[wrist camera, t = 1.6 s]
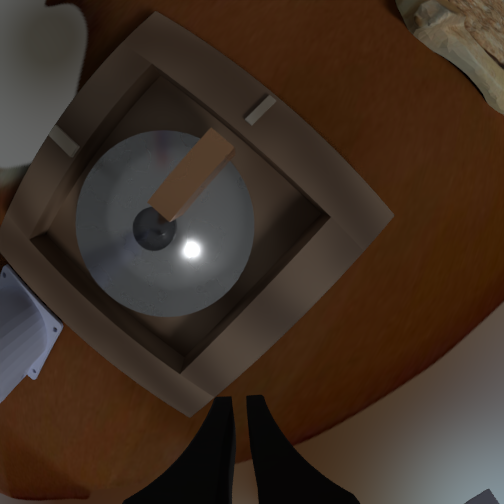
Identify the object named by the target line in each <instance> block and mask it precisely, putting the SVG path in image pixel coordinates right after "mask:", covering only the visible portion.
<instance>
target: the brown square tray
mask: <svg viewBox="0 0 504 504" xmlns="http://www.w3.org/2000/svg"><path fill="white" fill-rule="evenodd" d="M210 128H213V129H214V130H215V131H216V132H217V133H218V134H220V135H221V136H222V137H223V138H224V139H226V140H227V141H228V142H229V143H230V144H231V145H233V146H234V147H235V154H236V155H235V156H234V157H233V158H232V159H231V160H230V161H231V163H232V164H233V165H234V166H235V168H236V169H237V170H238V172H239V174H240V175H241V177H242V179H243V181H244V182H245V185H246V187H247V190H248V192H249V195H250V198H251V202H252V206H253V213H254V238H253V245H252V249H251V252H250V256H249V259H248V261H247V264H246V266H245V268H244V270H243V272H242V273H241V275H240V277H239V278H238V280H237V281H236V283H235V284H234V285H233V286H232V287H231V289H230V290H229V291H228V292H227V293H226V294H224V295H223V296H222V297H221V298H220V299H219V300H217V301H216V302H214V303H213V304H211V305H210V306H208V307H206V308H204V309H202V310H199V311H197V312H194V313H191V314H187V315H182V316H175V317H157V316H151V315H146V314H143V313H140V312H136V311H134V310H132V309H130V308H127V307H125V306H124V305H122V304H120V303H119V302H117V301H116V300H114V299H113V298H112V297H111V296H109V295H108V294H107V293H106V292H105V291H104V290H103V289H102V288H101V287H100V286H99V285H98V284H97V282H96V281H95V280H94V278H93V277H92V275H91V274H90V272H89V270H88V269H87V267H86V265H85V263H84V260H83V258H82V256H81V253H80V249H79V246H78V241H77V236H76V224H75V222H76V209H77V203H78V198H79V195H80V192H81V189H82V186H83V184H84V182H85V179H86V177H87V176H88V174H89V172H90V171H91V169H92V168H93V166H94V165H95V164H96V163H97V161H98V160H99V159H100V158H101V157H102V156H103V155H104V154H105V153H106V152H107V151H108V150H110V149H111V148H112V147H114V146H115V145H116V144H118V143H120V142H121V141H123V140H125V139H127V138H129V137H132V136H135V135H137V134H140V133H145V132H149V131H159V130H168V131H178V132H182V133H187V134H190V135H193V136H195V137H198V138H200V139H201V138H202V137H203V136H204V134H205V133H206V132H207V131H208V130H209V129H210ZM393 217H394V214H393V213H392V212H391V210H390V209H389V208H388V207H387V206H386V205H385V203H384V202H383V201H382V200H381V199H380V198H379V196H378V195H377V194H376V193H375V192H374V191H373V190H372V189H371V187H370V186H369V185H368V184H367V183H366V182H365V181H364V180H363V179H362V178H361V176H360V175H359V174H358V173H357V172H356V171H355V170H354V169H353V168H352V167H351V166H350V165H349V164H348V163H347V162H346V161H345V160H344V159H343V158H342V157H341V155H340V154H339V153H338V152H337V151H336V150H335V149H334V148H333V147H332V146H331V145H330V144H328V143H327V142H326V141H325V140H324V139H323V138H322V137H321V136H320V135H319V134H318V133H317V132H316V131H315V130H314V129H313V128H312V127H311V126H310V125H309V124H307V123H306V122H305V121H304V120H303V119H302V118H301V117H300V116H299V115H298V114H296V113H295V112H294V111H293V110H292V109H291V108H290V107H289V106H287V105H286V104H285V103H284V102H283V101H282V100H280V99H279V98H278V97H277V96H276V95H275V94H273V93H272V92H271V91H270V90H268V89H267V88H266V87H265V86H264V85H262V84H261V83H260V82H259V81H257V80H256V79H255V78H254V77H252V76H251V75H250V74H248V73H247V72H246V71H245V70H243V69H242V68H241V67H239V66H238V65H237V64H235V63H234V62H233V61H231V60H230V59H229V58H227V57H226V56H224V55H223V54H222V53H220V52H219V51H217V50H216V49H215V48H213V47H212V46H210V45H209V44H207V43H206V42H204V41H203V40H201V39H200V38H198V37H197V36H195V35H194V34H192V33H191V32H189V31H188V30H186V29H185V28H183V27H181V26H180V25H178V24H177V23H175V22H173V21H172V20H170V19H168V18H167V17H165V16H163V15H162V14H160V13H158V12H156V11H155V12H154V13H153V14H152V15H151V16H149V17H148V18H147V19H146V20H145V21H144V22H143V23H142V24H141V25H140V26H138V27H137V28H136V29H135V30H134V31H133V32H132V33H131V34H130V35H129V36H128V37H127V38H126V39H125V40H124V41H123V42H122V43H121V44H120V45H119V46H118V47H117V48H116V49H115V50H114V51H113V52H112V54H111V55H110V56H109V57H108V58H107V59H106V60H105V61H104V62H103V63H102V65H101V66H100V67H99V68H98V69H97V70H96V71H95V73H94V74H93V75H92V76H91V77H90V79H89V80H88V81H87V82H86V84H85V85H84V86H83V87H82V89H81V90H80V91H79V92H78V94H77V95H76V96H75V98H74V99H73V100H72V102H71V103H70V104H69V106H68V107H67V108H66V110H65V111H64V113H63V114H62V115H61V117H60V118H59V120H58V121H57V123H56V124H55V125H54V127H53V128H52V130H51V131H50V133H49V135H48V136H47V138H46V140H45V141H44V143H43V144H42V146H41V148H40V149H39V151H38V153H37V154H36V156H35V158H34V160H33V161H32V163H31V165H30V167H29V169H28V170H27V172H26V174H25V176H24V178H23V180H22V182H21V184H20V186H19V188H18V190H17V192H16V194H15V196H14V198H13V200H12V202H11V204H10V206H9V209H8V211H7V213H6V215H5V218H4V220H3V223H2V225H1V227H0V253H1V254H2V255H3V256H4V258H5V259H6V260H7V261H8V262H9V264H10V265H11V266H12V267H13V268H14V270H15V271H16V272H17V273H18V274H19V275H20V277H21V278H22V279H23V280H24V281H25V282H26V283H27V285H28V286H29V287H30V288H31V289H32V290H33V291H34V292H35V293H36V294H37V295H38V296H39V297H40V299H41V300H42V301H43V302H44V303H45V304H46V305H47V306H48V307H49V308H50V309H51V310H52V311H53V312H54V313H55V314H56V315H57V316H58V317H59V318H60V319H61V320H63V321H64V322H65V323H66V324H67V325H68V326H69V327H70V328H71V329H72V330H73V331H74V332H75V333H77V334H78V335H79V336H80V337H81V338H82V339H83V340H84V341H85V342H87V343H88V344H89V345H90V346H91V347H92V348H94V349H95V350H96V351H97V352H98V353H100V354H101V355H102V356H103V357H104V358H106V359H107V360H108V361H109V362H111V363H112V364H113V365H114V366H116V367H117V368H118V369H120V370H121V371H122V372H123V373H125V374H126V375H127V376H129V377H130V378H131V379H133V380H134V381H136V382H137V383H138V384H140V385H141V386H142V387H144V388H145V389H147V390H148V391H150V392H151V393H152V394H154V395H155V396H157V397H158V398H160V399H161V400H163V401H164V402H166V403H167V404H169V405H170V406H172V407H174V408H175V409H177V410H178V411H180V412H181V413H183V414H185V415H186V416H188V417H191V416H192V415H194V414H195V413H196V412H197V411H198V410H200V409H201V408H202V407H203V406H205V405H206V404H207V403H208V402H209V401H211V400H212V399H213V398H214V397H215V396H216V395H218V394H219V393H220V392H221V391H222V390H223V389H225V388H226V387H227V386H228V385H229V384H230V383H232V382H233V381H234V380H235V379H236V378H237V377H238V376H239V375H241V374H242V373H243V372H244V371H245V370H246V369H247V368H248V367H250V366H251V365H252V364H253V363H254V362H255V361H256V360H257V359H258V358H259V357H260V356H262V355H263V354H264V353H265V352H266V351H267V350H268V349H269V348H270V347H271V346H272V345H273V344H274V343H275V342H276V341H278V340H279V339H280V338H281V337H282V336H283V335H284V334H285V333H286V332H287V331H288V330H289V329H290V328H291V327H292V326H293V325H294V324H295V323H296V322H297V321H298V320H299V319H300V318H301V317H302V316H303V315H304V314H305V313H306V312H307V311H308V310H309V309H310V308H311V307H312V306H313V305H314V304H315V303H316V302H317V301H318V300H319V299H320V298H321V297H322V296H323V295H324V294H325V293H326V292H327V291H328V290H329V288H330V287H331V286H332V285H333V284H334V283H335V282H336V281H337V280H338V279H339V278H340V277H341V276H342V275H343V274H344V272H345V271H346V270H347V269H348V268H349V267H350V266H351V265H352V264H353V263H354V262H355V260H356V259H357V258H358V257H359V256H360V255H361V254H362V253H363V252H364V250H365V249H366V248H367V247H368V246H369V245H370V244H371V242H372V241H373V240H374V239H375V238H376V237H377V236H378V234H379V233H380V232H381V231H382V230H383V229H384V227H385V226H386V225H387V224H388V223H389V221H390V220H391V219H392V218H393Z"/></svg>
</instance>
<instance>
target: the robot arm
mask: <svg viewBox="0 0 504 504" xmlns="http://www.w3.org/2000/svg"><path fill="white" fill-rule="evenodd" d="M5 274H6V275H5ZM55 328H56V329H57V330H56V329H55ZM62 329H63V324H62V322H61V321H60V320H59V319H58V318H57V317H56V316H55V315H54V314H53V313H52V312H51V311H50V310H49V309H48V308H47V307H46V306H45V305H44V304H43V303H42V302H41V301H40V300H39V299H38V298H37V296H36V295H35V294H34V293H33V292H32V291H31V290H30V289H29V288H28V287H27V286H26V284H25V283H24V282H23V281H22V280H21V279H20V278H19V277H18V275H17V274H16V273H15V272H14V271H13V270H12V268H11V267H10V266H9V265H5V266H4V267H3V269H2V272H1V274H0V403H1V402H2V401H3V400H4V399H5V398H6V396H7V395H8V394H9V393H10V392H11V391H12V390H13V389H14V388H15V387H16V385H17V384H18V383H19V382H20V381H21V380H22V379H23V378H24V377H25V376H26V375H28V376H29V377H30V378H32V379H34V380H35V379H36V378H37V376H38V374H39V372H40V370H41V368H42V366H43V364H44V362H45V360H46V358H47V356H48V355H49V353H50V351H51V349H52V347H53V345H54V343H55V341H56V340H57V338H58V336H59V334H60V332H61V331H62ZM246 400H247V416H248V427H249V438H250V448H251V454H252V459H253V465H254V471H255V476H256V481H257V487H258V499H259V504H360V503H359V501H358V500H357V498H356V497H355V496H354V495H353V494H352V493H350V492H348V491H347V490H345V489H343V488H341V487H340V486H338V485H336V484H335V483H333V482H332V481H330V480H329V479H328V478H326V477H325V476H324V475H322V474H321V473H320V472H319V471H318V470H316V469H315V468H314V467H313V466H311V465H310V464H309V463H308V462H307V461H306V460H305V459H304V458H303V457H302V456H301V455H300V454H299V453H298V452H297V451H296V450H295V448H294V447H293V446H292V445H291V444H290V442H289V441H288V440H287V438H286V437H285V436H284V434H283V433H282V432H281V430H280V429H279V427H278V425H277V424H276V422H275V421H274V419H273V417H272V415H271V413H270V411H269V409H268V407H267V405H266V402H265V399H264V396H262V395H251V396H246ZM235 453H236V434H235V422H234V414H233V407H232V398H231V396H230V397H216V398H215V399H214V401H213V404H212V406H211V409H210V411H209V413H208V415H207V417H206V419H205V421H204V422H203V424H202V426H201V428H200V429H199V431H198V432H197V434H196V435H195V437H194V438H193V440H192V441H191V443H190V444H189V446H188V447H187V448H186V449H185V451H184V452H183V453H182V454H181V455H180V457H179V458H178V459H177V460H176V461H175V462H174V463H173V464H172V465H171V466H170V467H169V468H168V469H167V470H166V471H165V472H164V473H163V474H162V475H160V476H159V477H158V478H157V479H155V480H154V481H153V482H152V483H150V484H149V485H148V486H147V487H145V488H144V489H142V490H140V491H139V492H137V493H136V494H134V495H133V496H131V497H129V498H128V499H126V500H124V502H123V503H122V504H232V485H233V474H234V464H235ZM465 504H499V503H498V501H497V500H496V498H495V497H494V495H493V494H492V492H491V491H490V489H487V490H485V491H483V492H482V493H481V494H479V495H477V496H475V497H474V498H472V499H470V500H469V501H467V502H466V503H465Z"/></svg>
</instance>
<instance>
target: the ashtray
mask: <svg viewBox="0 0 504 504" xmlns="http://www.w3.org/2000/svg"><path fill="white" fill-rule="evenodd" d="M395 1H396V4H397V7H398V10H399V11H400V13H401V15H402V17H403V19H404V22H405V24H406V26H407V29H408V30H409V31H410V32H411V33H412V34H413V35H414V36H415V37H416V38H417V39H418V40H420V41H421V42H422V43H424V44H425V45H426V46H427V47H428V48H430V49H431V50H432V51H434V52H436V53H438V54H440V55H441V56H443V57H445V58H446V59H448V60H449V61H451V62H452V63H453V64H455V65H456V66H457V67H458V68H460V69H461V70H462V71H463V72H464V73H466V74H467V75H468V76H469V78H470V79H471V80H472V81H473V82H474V83H475V84H476V85H477V87H478V88H479V89H480V91H481V92H482V93H483V95H484V97H485V100H486V101H487V103H488V104H489V105H490V106H491V107H492V108H493V109H495V110H496V111H498V112H499V113H501V114H504V0H395Z"/></svg>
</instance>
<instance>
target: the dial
mask: <svg viewBox="0 0 504 504" xmlns="http://www.w3.org/2000/svg"><path fill="white" fill-rule="evenodd" d="M235 155H236V154H235V147H234V146H233V145H231V144H230V143H229V142H228V141H227V140H226V139H224V138H223V137H222V136H221V135H220V134H218V133H217V132H216V131H215V130H214V129H213V128H210V129H209V130H208V131H207V132H206V133H205V134H204V136H203V137H202V138H201V139H200V138H198V137H195V136H193V135H190V134H187V133H182V132H178V131H168V130H159V131H149V132H145V133H140V134H137V135H135V136H132V137H129V138H127V139H125V140H123V141H121V142H120V143H118V144H116V145H115V146H114V147H112V148H111V149H110V150H108V151H107V152H106V153H105V154H104V155H103V156H102V157H101V158H100V159H99V160H98V161H97V163H96V164H95V165H94V166H93V168H92V169H91V171H90V172H89V174H88V176H87V177H86V179H85V182H84V184H83V186H82V189H81V192H80V195H79V198H78V203H77V209H76V222H75V224H76V236H77V241H78V246H79V249H80V253H81V256H82V258H83V260H84V263H85V265H86V267H87V269H88V270H89V272H90V274H91V275H92V277H93V278H94V280H95V281H96V282H97V284H98V285H99V286H100V287H101V288H102V289H103V290H104V291H105V292H106V293H107V294H108V295H109V296H111V297H112V298H113V299H114V300H116V301H117V302H119V303H120V304H122V305H124V306H125V307H127V308H130V309H132V310H134V311H136V312H140V313H143V314H146V315H151V316H157V317H175V316H182V315H187V314H191V313H194V312H197V311H199V310H202V309H204V308H206V307H208V306H210V305H211V304H213V303H214V302H216V301H217V300H219V299H220V298H221V297H222V296H223V295H224V294H226V293H227V292H228V291H229V290H230V289H231V287H232V286H233V285H234V284H235V283H236V281H237V280H238V278H239V277H240V275H241V273H242V272H243V270H244V268H245V266H246V264H247V261H248V259H249V256H250V252H251V249H252V245H253V238H254V213H253V206H252V202H251V198H250V195H249V192H248V190H247V187H246V185H245V182H244V181H243V179H242V177H241V175H240V174H239V172H238V170H237V169H236V168H235V166H234V165H233V164H232V163H231V161H230V160H231V159H232V158H233V157H234V156H235Z"/></svg>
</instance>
